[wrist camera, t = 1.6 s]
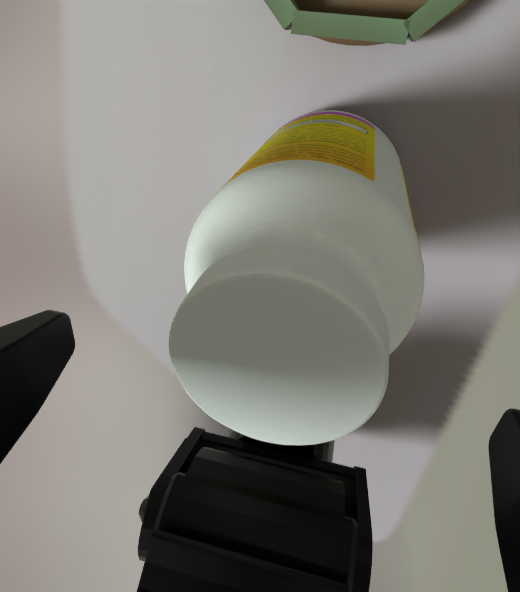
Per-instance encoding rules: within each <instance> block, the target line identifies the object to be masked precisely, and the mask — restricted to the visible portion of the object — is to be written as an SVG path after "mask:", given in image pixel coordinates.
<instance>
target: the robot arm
mask: <svg viewBox="0 0 520 592" xmlns="http://www.w3.org/2000/svg"><path fill="white" fill-rule="evenodd" d="M74 349H75V339H74V335H73V330H72V325H71V321H70V318H69V316H68V315H67V314H66V313H63V312H58V311H53V310H47V311H44V312H41V313H38V314H35V315H33V316H30V317H27V318H24V319H21V320H19V321H16V322H13V323H10V324H8V325H5V326H2V327H0V464H1V462H2V461H3V459H4V458H5V457H6V455H7V454H8V452H9V451H10V450H11V449H12V447H13V446H14V444H15V443H16V442H17V440H18V439H19V437H20V436H21V435H22V434H23V432H24V431H25V430H26V428H27V427H28V425H29V424H30V422H31V421H32V420H33V418H34V417H35V416H36V414H37V413H38V411H39V410H40V408H41V406H42V405H43V403H44V402H45V400H46V398H47V397H48V395H49V393H50V391H51V390H52V388H53V386H54V385H55V383H56V381H57V380H58V378H59V376H60V374H61V373H62V371H63V369H64V368H65V366H66V364H67V362H68V361H69V359H70V357H71V356H72V354H73V351H74ZM333 450H334V440H332V441H329V442H325V443H320V444H314V445H281V444H274V443H269V442H264V441H260V440H256V439H253V438H251V437H248V436H245V435H243V434H240V433H238V432H236V431H234V430H232V429H230V430H229V433H228V436H227V437H226V436H222V435H218V434H214V433H209V432H206V431H205V429H201V428H197V427H195V428H194V429H193V430H192V432H191V433H190V435H189V436H188V438H185V440H184V441H183V443H182V444H181V446H180V447H179V448H178V450H177V451H176V453H175V454H174V456H173V457H172V459H171V460H170V462H169V463H168V465H167V466H166V468H165V469H164V471H163V472H162V474H161V475H160V476H159V478H158V479H157V481H156V482H155V484H154V485H153V487H152V489H151V491H150V494H149V496H147V497H146V498H145V499H144V500H143V502H142V504H141V506H140V510H139V516H140V518H141V521H142V523H143V524H142V527H141V532H140V537H139V545H138V556H139V559H140V560H142V561H145V563H144V567H143V571H142V574H141V578H140V582H139V586H138V589H137V592H369V585H370V577H371V567H372V527H371V517H370V507H369V498H368V488H367V478H366V469H364V468H360V467H356V466H354V468H352V467H348V466H344V465H340V464H335V463H332V460H333ZM489 458H490V469H491V482H492V494H493V506H494V517H495V526H496V532H497V538H498V543H499V548H500V553H501V558H502V563H503V568H504V573H505V578H506V583H507V588H508V592H520V410H517V409H508V410H507V411H505V413H504V414H503V416H502V418H501V419H500V421H499V423H498V424H497V426H496V428H495V430H494V431H493V433H492V435H491V437H490V440H489Z"/></svg>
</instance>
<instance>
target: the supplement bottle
mask: <svg viewBox="0 0 520 592" xmlns="http://www.w3.org/2000/svg"><path fill="white" fill-rule="evenodd" d="M184 275H185V284H186V289H187V296H186V297H185V299H184V300H183V302H182V303H181V305H180V306H179V309H178V311H177V313H176V315H175V317H174V320H173V322H172V326H171V330H170V336H169V352H170V358H171V362H172V365H173V368H174V371H175V373H176V376H177V377H178V379H179V381H180V383H181V385H182V386H183V388H184V389H185V391H186V392H187V394H188V395H189V397H191V399H192V400H193V401H194V402H195V403H196V404H197V405H198V406H199V407H200V408H201V409H202V410H203V411H204V412H206V413H207V414H208V415H210V416H211V417H212V418H214V419H215V420H216V421H218V422H219V423H221V424H223V425H225V426H227V427H228V428H230V429H232V430H234V431H236V432H238V433H240V434H243V435H245V436H248V437H251V438H253V439H256V440H260V441H264V442H269V443H274V444H281V445H314V444H320V443H325V442H329V441H332V440H335V439H339V438H341V437H343V436H345V435H347V434H349V433H351V432H353V431H355V430H356V429H358V428H359V427H360V426H362V425H363V424H364V423H365V422H366V421H368V420H369V419H370V417H371V416H372V415H373V414H374V412H375V411H376V410H377V408H378V407H379V405H380V404H381V402H382V400H383V397H384V394H385V392H386V389H387V384H388V377H389V355H390V354H391V353H392V352H393V351H394V350H395V349H396V348H397V347H398V346H399V345H400V344H401V342H402V341H403V340H404V338H405V337H406V336H407V334H408V333H409V331H410V329H411V327H412V326H413V324H414V321H415V319H416V317H417V314H418V311H419V308H420V305H421V301H422V296H423V289H424V265H423V260H422V255H421V249H420V245H419V240H418V237H417V233H416V229H415V224H414V220H413V216H412V211H411V206H410V202H409V197H408V192H407V187H406V182H405V178H404V173H403V169H402V166H401V162H400V160H399V157H398V155H397V152H396V150H395V148H394V146H393V145H392V143H391V142H390V140H389V139H388V138H387V136H386V135H385V134H384V133H383V132H382V131H381V130H380V129H379V128H378V127H376V126H375V125H374V124H373V123H371V122H369V121H368V120H366V119H364V118H362V117H360V116H358V115H355V114H352V113H348V112H344V111H337V110H323V111H317V112H311V113H308V114H305V115H302V116H299V117H297V118H295V119H293V120H291V121H290V122H288V123H287V124H285V125H284V126H283V127H281V128H280V129H279V130H278V131H276V132H275V133H274V134H273V135H272V136H271V137H270V138H269V139H268V140H267V141H266V142H265V143H264V144H263V145H262V146H261V147H260V148H259V149H258V150H257V152H256V153H255V154H254V155H253V156H252V157H251V158H250V159H249V160H248V161H247V162H246V163H245V164H244V165H243V166H242V167H241V168H240V169H239V171H238V172H236V173H235V175H234V176H233V177H232V178H231V179H230V180H229V181H228V182H227V183H226V184H225V185H224V186H223V187H222V188H221V189H220V190H219V191H218V192H217V193H216V194H215V195H214V197H213V198H212V199H211V200H210V202H209V203H208V204H207V205H206V207H205V208H204V209H203V211H202V212H201V213H200V215H199V217H198V218H197V220H196V222H195V224H194V226H193V229H192V231H191V234H190V237H189V240H188V243H187V247H186V253H185V262H184Z"/></svg>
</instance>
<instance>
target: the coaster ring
mask: <svg viewBox="0 0 520 592" xmlns="http://www.w3.org/2000/svg"><path fill="white" fill-rule="evenodd" d="M264 1H265V2H266V4H267V5H268V7H269V8H270V10H271V11H272V13H273V14H274V15H275V17H276V18H277V20H278V21H279V23H280V24H281V26H282V27H283V29H284V30H290V29H291V34H299V35H310V36H313V37H316V38H319V39H322V40H325V41H328V42H332V43H338V44H344V45H363V46H367V45H375V44H383V43H394V44H404V45H405V44H406V40H407V37H409V38H410V40H411V41H412V42H414V41H416V40H417V39H418V38H419V37H420V36H422V35H423V34H424V33H425V32H426V31H428V30H429V29H430V28H431V27H433V26H434V25H435V24H437V23H439V22H440V21H442V20H444V19H446V18H447V17H449V16H450V15H452V14H453V13H454V12H456V11H457V10H458V9H460V8H461V7H463V6H464V5H465V4H467V3H468V2H469V1H470V0H264Z"/></svg>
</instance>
